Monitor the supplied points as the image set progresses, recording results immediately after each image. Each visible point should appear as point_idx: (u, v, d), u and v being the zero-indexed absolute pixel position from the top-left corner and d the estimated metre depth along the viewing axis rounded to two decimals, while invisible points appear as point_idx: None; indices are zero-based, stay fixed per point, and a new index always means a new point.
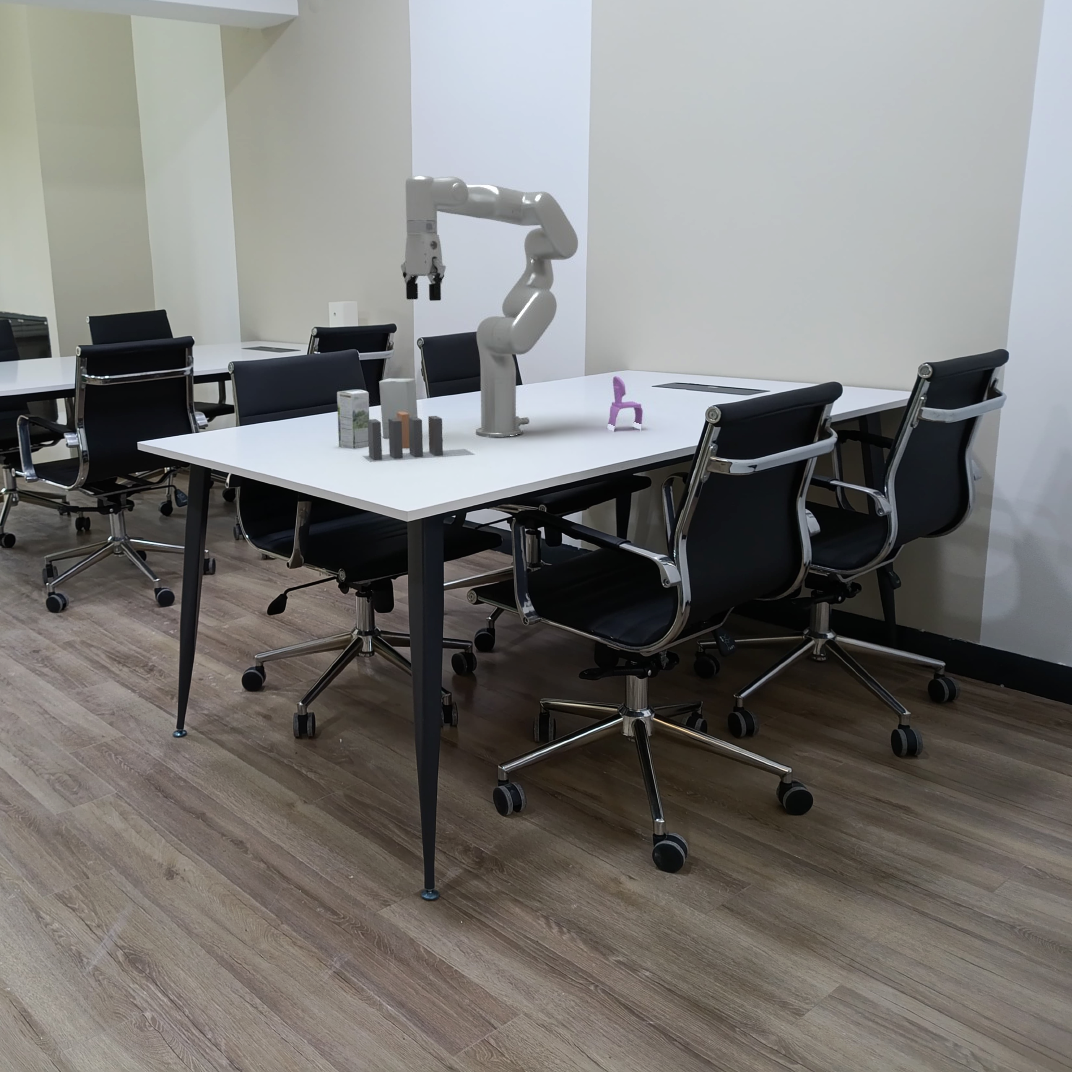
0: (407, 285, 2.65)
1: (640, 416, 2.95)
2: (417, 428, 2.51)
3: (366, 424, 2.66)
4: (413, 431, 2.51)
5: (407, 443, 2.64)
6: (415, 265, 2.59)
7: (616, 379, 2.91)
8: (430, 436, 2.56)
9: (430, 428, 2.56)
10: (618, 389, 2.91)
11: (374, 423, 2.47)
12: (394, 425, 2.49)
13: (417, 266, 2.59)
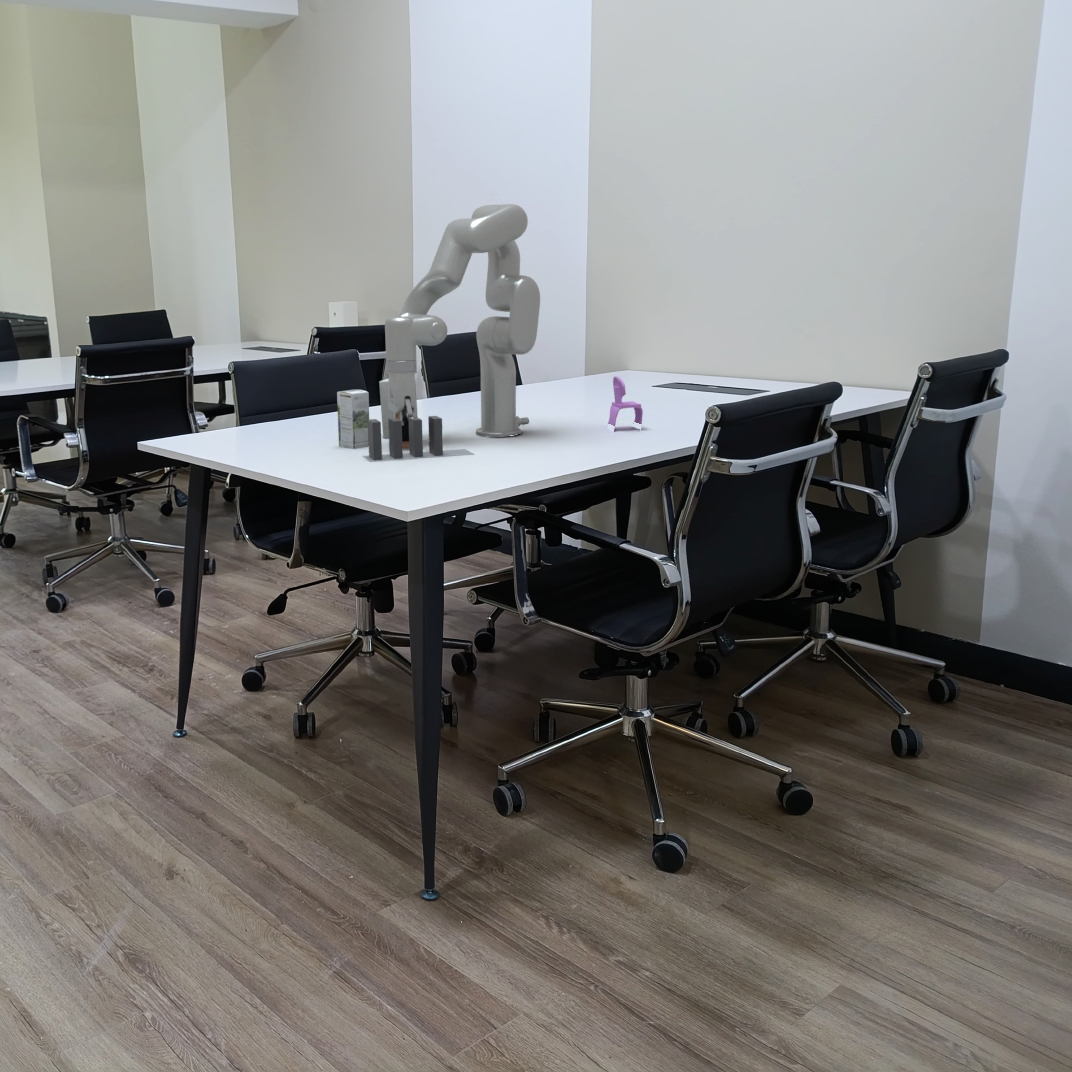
0: None
1: (640, 416, 2.95)
2: (417, 428, 2.51)
3: (366, 424, 2.66)
4: (413, 431, 2.51)
5: (407, 443, 2.64)
6: None
7: (616, 379, 2.91)
8: (430, 436, 2.56)
9: (430, 428, 2.56)
10: (618, 389, 2.91)
11: (374, 423, 2.47)
12: (394, 425, 2.49)
13: None
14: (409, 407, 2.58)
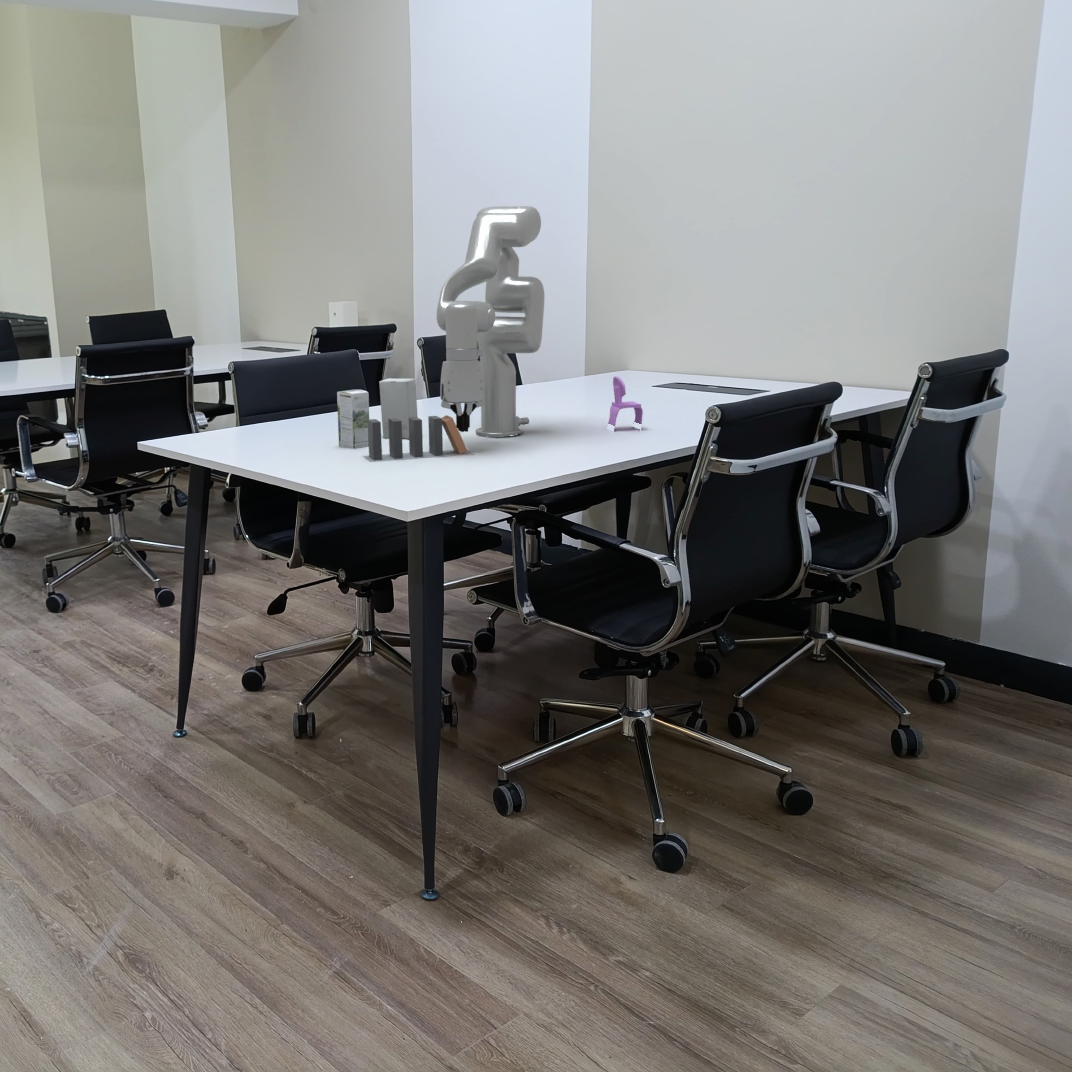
0: (463, 417, 2.55)
1: (640, 416, 2.95)
2: (417, 428, 2.51)
3: (366, 424, 2.66)
4: (413, 431, 2.51)
5: (462, 446, 2.56)
6: (466, 392, 2.53)
7: (616, 379, 2.91)
8: (430, 436, 2.56)
9: (430, 428, 2.56)
10: (618, 389, 2.91)
11: (374, 423, 2.47)
12: (394, 425, 2.49)
13: (468, 393, 2.54)
14: (443, 398, 2.54)
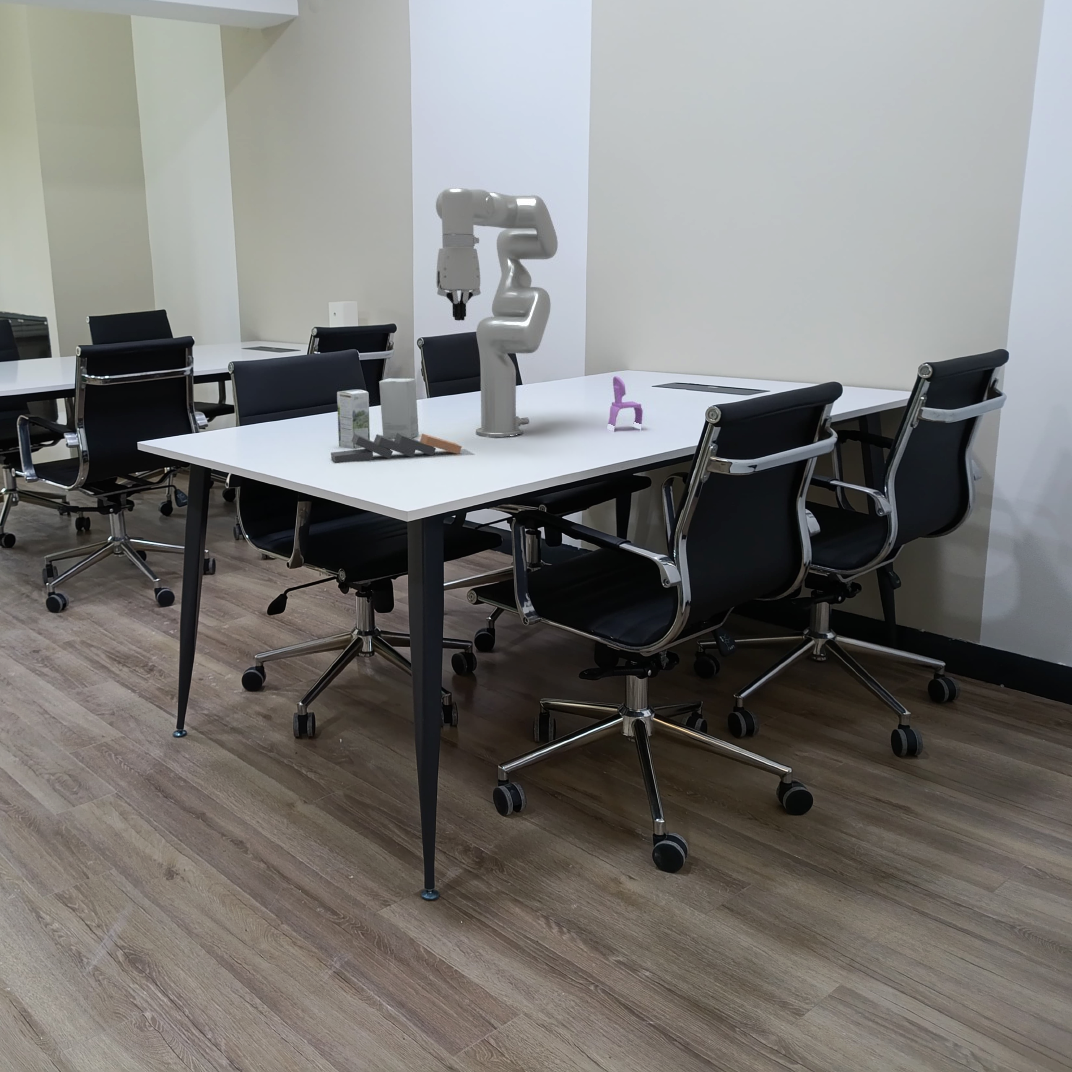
0: (459, 306, 2.55)
1: (640, 416, 2.95)
2: (388, 444, 2.49)
3: (366, 424, 2.66)
4: None
5: (454, 447, 2.55)
6: (462, 280, 2.52)
7: (616, 379, 2.91)
8: None
9: None
10: (618, 389, 2.91)
11: (336, 462, 2.46)
12: (359, 444, 2.47)
13: (464, 280, 2.53)
14: (439, 286, 2.53)
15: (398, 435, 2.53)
